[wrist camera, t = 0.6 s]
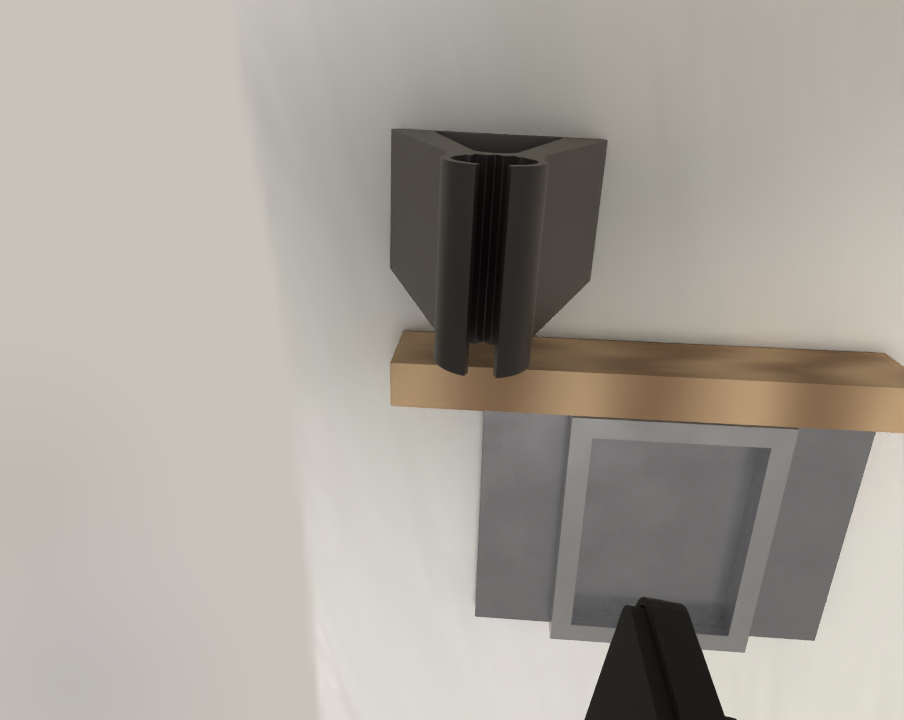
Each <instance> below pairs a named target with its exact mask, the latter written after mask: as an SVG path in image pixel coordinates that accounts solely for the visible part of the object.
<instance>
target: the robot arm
mask: <svg viewBox="0 0 904 720" xmlns="http://www.w3.org/2000/svg"><path fill="white" fill-rule="evenodd" d="M585 720H737V719H735V718H731V717H726V716H724V713H723V710H722V707H721V704H720V701H719V698H718V696H717V693H716V690H715V687H714V684H713V681H712V678H711V675H710V673H709V670H708V667H707V664H706V661H705V658H704V655H703V653H702V650H701V647H700V644H699V641H698V638H697V635H696V633H695V630H694V627H693V624H692V621H691V618H690V615H689V613H688V610H687V608H686V607H685V606H684V605H683V604H680V603H675V602H670V601H664V600H659V599H653V598H648V597H641V598H640V599H639V600H638V601H637V604H636V606H631V605H625V606H624V607H623V609H622V612H621V614H620V617H619V620H618V623H617V626H616V629H615V632H614V635H613V638H612V641H611V644H610V647H609V650H608V653H607V655H606V658H605V661H604V664H603V667H602V670H601V673H600V676H599V679H598V682H597V685H596V688H595V691H594V694H593V696H592V699H591V702H590V705H589V708H588V711H587V714H586V717H585Z"/></svg>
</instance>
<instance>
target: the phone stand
mask: <svg viewBox="0 0 904 720" xmlns="http://www.w3.org/2000/svg"><path fill="white" fill-rule="evenodd" d="M606 148H607V140H604V139H588V138H568V137H548V136H529V135H509V134H490V133H470V132H450V131H431V130H411V129H392V135H391V245H390V268H391V270H392V271H393V272H394V274H395V275H396V277H397V278H398V279H399V281H400V282H401V283H402V285H403V286H404V288H405V289H406V290H407V292H408V293H409V295H410V296H411V297H412V299H413V300H414V301H415V303H416V304H417V306H418V307H419V308H420V310H421V311H422V312H423V314H424V315H425V317H426V318H427V319H428V321H429V322H430V323H431V325H432V326H433V328H434V355H433V358H434V361H435V363H436V364H437V365H438V366H440V367H441V368H443V369H444V370H446V371H449V372H451V373H454V374H458V375H461V376H465V375H466V374H467V373H468V357H469V343H473V344H477V343H480V342H483V341H484V342H485V343H487V344H489V345H495V354H494V368H493V375H494V376H495V378H504V377H509V376H514V375H517V374H519V373H522V372H523V371H525V370H526V369H527V368H528V367H529V365H530V358H531V347H532V337H533V336H534V335H535V334H536V333H537V332H538V331H539V330H540V329H541V328H542V327H543V326H544V325H545V324H546V323H547V322H548V321H549V320H550V319H551V318H552V317H553V316H554V315H555V314H556V313H557V312H558V311H559V310H560V309H561V308H562V307H564V306H565V305H566V304H567V303H568V302H569V301H570V300H571V299H572V298H573V297H574V296H575V295H576V294H577V293H578V292H579V291H580V290H581V289H582V288H583V287H584V286H585V285H586V284H587V283H588V282H589V281H590V276H591V268H592V260H593V252H594V244H595V236H596V228H597V220H598V212H599V204H600V196H601V188H602V180H603V172H604V164H605V156H606Z"/></svg>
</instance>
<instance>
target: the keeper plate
mask: <svg viewBox="0 0 904 720" xmlns="http://www.w3.org/2000/svg"><path fill="white" fill-rule="evenodd" d="M875 433H876V432H873V431H854V430H835V429H816V428H798V427H779V426H760V425H741V424H722V423H704V422H685V421H666V420H647V419H628V418H609V417H591V416H572V415H553V414H534V413H515V412H497V411H484V432H483V454H482V476H481V498H480V520H479V542H478V564H477V586H476V608H475V616H476V617H490V618H504V619H518V620H532V621H546V622H549V630H550V638H551V639H565V640H579V641H592V642H606V643H611V641H612V638H613V635H614V632H615V629H616V626H617V623H618V620H619V617H620V614H621V612H622V609H623V607H624V606H625V605H631V606H636V604H637V601H638V600H639V599H640V598H641V597H648V598H653V599H659V600H664V601H670V602H675V603H680V604H683V605H684V606H685V607H686V608H687V610H688V613H689V615H690V618H691V621H692V624H693V627H694V630H695V633H696V635H697V638H698V641H699V644H700V647H701V649H702V650H716V651H730V652H743V653H745V649H746V645H747V641H748V637H749V636H756V637H770V638H784V639H798V640H812V641H814V640H815V637H816V634H817V630H818V627H819V623H820V620H821V617H822V613H823V610H824V606H825V603H826V600H827V596H828V593H829V589H830V586H831V583H832V579H833V576H834V572H835V569H836V565H837V562H838V559H839V555H840V552H841V548H842V545H843V542H844V538H845V535H846V531H847V528H848V525H849V521H850V518H851V514H852V511H853V508H854V504H855V501H856V497H857V494H858V491H859V487H860V484H861V480H862V477H863V473H864V470H865V467H866V463H867V460H868V456H869V453H870V450H871V446H872V443H873V439H874V436H875Z"/></svg>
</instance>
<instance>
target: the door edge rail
mask: <svg viewBox="0 0 904 720" xmlns="http://www.w3.org/2000/svg"><path fill="white" fill-rule="evenodd" d="M494 354H495V345H489V344H487V343H485V342H484V341H483V342H480V343H477V344H473V343H469V357H468V373H467V374H466V375H465V376H461V375H458V374H454V373H451V372H449V371H446V370H444V369H443V368H441V367H440V366H438V365H437V364H436V363H435V361H434V358H433V355H434V332H418V331H403V333H402V336H401V338H400V341H399V343H398V345H397V348H396V350H395V353H394V355H393V357H392V360H391V362H390V383H391V406H402V407H421V408H440V409H459V410H478V411H497V412H515V413H534V414H553V415H572V416H591V417H609V418H628V419H647V420H666V421H685V422H704V423H722V424H741V425H760V426H779V427H798V428H816V429H835V430H854V431H873V432H892V433H904V367H903V366H902V365H901V364H899V363H898V362H896V361H895V360H894V359H892V358H891V357H889V356H888V355H886V354H885V353H870V352H849V351H827V350H806V349H784V348H763V347H741V346H720V345H698V344H676V343H655V342H633V341H612V340H590V339H569V338H547V337H532V347H531V358H530V365H529V367H528V368H527V369H526V370H525V371H523V372H522V373H519V374H517V375H514V376H509V377H504V378H495V376H494V375H493V368H494Z"/></svg>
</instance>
